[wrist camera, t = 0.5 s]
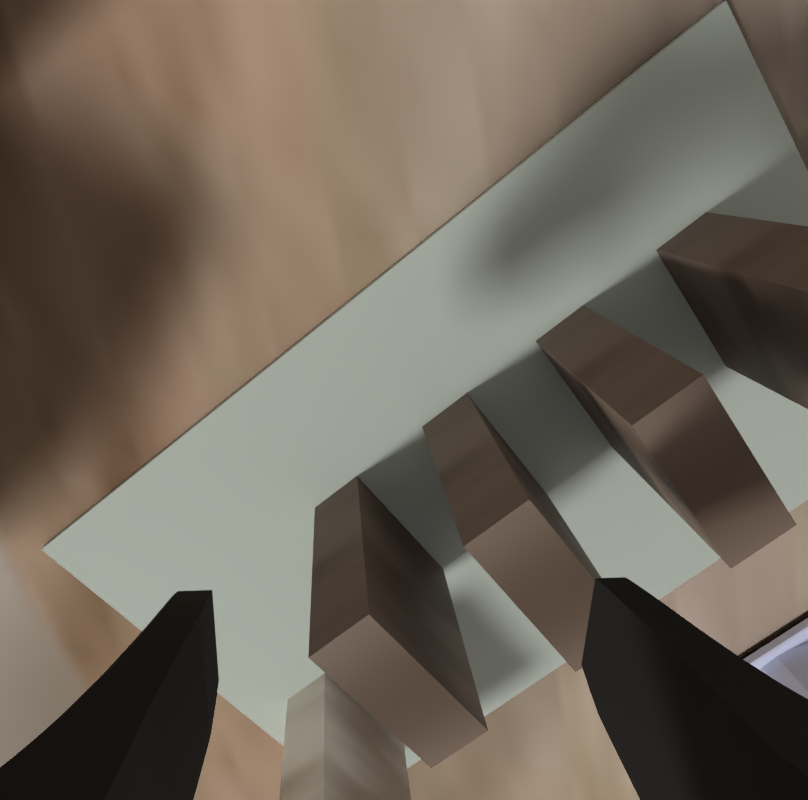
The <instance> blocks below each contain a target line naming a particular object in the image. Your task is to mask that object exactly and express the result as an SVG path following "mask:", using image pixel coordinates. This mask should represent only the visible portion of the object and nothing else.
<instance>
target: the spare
mask: <svg viewBox="0 0 808 800" xmlns="http://www.w3.org/2000/svg"><path fill="white" fill-rule="evenodd" d="M280 800H411V796H410V788H409V780H408V773H407V765H406V757H405V749H404V744H403V743H402V742H401V741H400V740H399V739H397V738H396V737H395V736H394V735H393V734H392V733H391V732H390V731H388V730H387V729H386V728H385V727H384V726H383V725H382V724H381V723H380V722H378V721H377V720H376V719H375V718H374V717H373V716H372V715H371V714H370V713H368V712H367V711H366V710H365V709H364V708H363V707H362V706H361V705H359V704H358V703H357V702H356V701H355V700H354V699H353V698H352V697H351V696H349V695H348V694H347V693H346V692H345V691H344V690H343V689H342V688H341V687H339V686H338V685H337V684H336V683H335V682H334V681H333V680H332V679H330V678H329V677H328V676H327V675H326V674H325V673H324V674H323V675H322V676H320V677H319V678H317V679H316V680H315V681H313V682H312V683H310V684H309V685H308V686H306V687H305V688H303V689H302V690H300V691H299V692H298V693H296V694H295V695H293V696H292V697H291V698H289V699H288V700H287V711H286V724H285V736H284V749H283V762H282V775H281V787H280Z"/></svg>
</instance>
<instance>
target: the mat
mask: <svg viewBox="0 0 808 800" xmlns="http://www.w3.org/2000/svg"><path fill="white" fill-rule="evenodd" d="M706 212H709V213H716V214H723V215H730V216H737V217H744V218H752V219H759V220H766V221H773V222H780V223H787V224H795V225H802V226H808V170H807V168H806V166H805V164H804V162H803V160H802V158H801V155H800V153H799V151H798V149H797V147H796V145H795V143H794V141H793V139H792V137H791V135H790V132H789V130H788V128H787V126H786V124H785V122H784V120H783V118H782V116H781V114H780V112H779V110H778V107H777V105H776V103H775V101H774V99H773V97H772V95H771V93H770V91H769V89H768V87H767V84H766V82H765V80H764V78H763V76H762V74H761V72H760V70H759V68H758V66H757V64H756V62H755V59H754V57H753V55H752V53H751V51H750V49H749V47H748V45H747V43H746V41H745V39H744V37H743V34H742V32H741V30H740V28H739V26H738V24H737V22H736V20H735V18H734V16H733V14H732V11H731V9H730V7H729V5H728V3H727V1H723V2H721V3H719V4H718V5H717V6H715V7H714V8H713V9H712V10H710V11H709V12H708V13H707V14H705V15H704V16H703V17H702V18H700V19H699V20H698V21H697V22H695V23H694V24H693V25H692V26H690V27H689V28H688V29H687V30H685V31H684V32H683V33H682V34H680V35H679V36H678V37H677V38H675V39H674V40H673V41H672V42H670V43H669V44H668V45H667V46H665V47H664V48H663V49H662V50H660V51H659V52H658V53H657V54H655V55H654V56H653V57H652V58H650V59H649V60H648V61H647V62H646V63H644V64H643V65H642V66H641V67H639V68H638V69H637V70H636V71H634V72H633V73H632V74H631V75H629V76H628V77H627V78H626V79H624V80H623V81H622V82H621V83H619V84H618V85H617V86H616V87H614V88H613V89H612V90H611V91H609V92H608V93H607V94H606V95H604V96H603V97H602V98H601V99H599V100H598V101H597V102H596V103H594V104H593V105H592V106H591V107H589V108H588V109H587V110H586V111H584V112H583V113H582V114H581V115H579V116H578V117H577V118H576V119H574V120H573V121H572V122H571V123H569V124H568V125H567V126H566V127H565V128H563V129H562V130H561V131H560V132H558V133H557V134H556V135H555V136H553V137H552V138H551V139H550V140H548V141H547V142H546V143H545V144H543V145H542V146H541V147H540V148H538V149H537V150H536V151H535V152H533V153H532V154H531V155H530V156H528V157H527V158H526V159H525V160H523V161H522V162H521V163H520V164H518V165H517V166H516V167H515V168H513V169H512V170H511V171H510V172H508V173H507V174H506V175H505V176H503V177H502V178H501V179H500V180H498V181H497V182H496V183H495V184H493V185H492V186H491V187H490V188H489V189H487V190H486V191H485V192H484V193H482V194H481V195H480V196H479V197H477V198H476V199H475V200H474V201H472V202H471V203H470V204H469V205H467V206H466V207H465V208H464V209H462V210H461V211H460V212H459V213H457V214H456V215H455V216H454V217H452V218H451V219H450V220H449V221H447V222H446V223H445V224H444V225H442V226H441V227H440V228H439V229H437V230H436V231H435V232H434V233H432V234H431V235H430V236H429V237H427V238H426V239H425V240H424V241H422V242H421V243H420V244H419V245H417V246H416V247H415V248H414V249H412V250H411V251H410V252H409V253H408V254H406V255H405V256H404V257H403V258H401V259H400V260H399V261H398V262H396V263H395V264H394V265H393V266H391V267H390V268H389V269H388V270H386V271H385V272H384V273H383V274H381V275H380V276H379V277H378V278H376V279H375V280H374V281H373V282H371V283H370V284H369V285H368V286H366V287H365V288H364V289H363V290H361V291H360V292H359V293H358V294H356V295H355V296H354V297H353V298H351V299H350V300H349V301H348V302H346V303H345V304H344V305H343V306H341V307H340V308H339V309H338V310H336V311H335V312H334V313H333V314H332V315H330V316H329V317H328V318H327V319H325V320H324V321H323V322H322V323H320V324H319V325H318V326H317V327H315V328H314V329H313V330H312V331H310V332H309V333H308V334H307V335H305V336H304V337H303V338H302V339H300V340H299V341H298V342H297V343H295V344H294V345H293V346H292V347H290V348H289V349H288V350H287V351H285V352H284V353H283V354H282V355H280V356H279V357H278V358H277V359H275V360H274V361H273V362H272V363H270V364H269V365H268V366H267V367H265V368H264V369H263V370H262V371H260V372H259V373H258V374H257V375H255V376H254V377H253V378H252V379H251V380H249V381H248V382H247V383H246V384H244V385H243V386H242V387H241V388H239V389H238V390H237V391H236V392H234V393H233V394H232V395H231V396H229V397H228V398H227V399H226V400H224V401H223V402H222V403H221V404H219V405H218V406H217V407H216V408H214V409H213V410H212V411H211V412H209V413H208V414H207V415H206V416H204V417H203V418H202V419H201V420H199V421H198V422H197V423H196V424H194V425H193V426H192V427H191V428H189V429H188V430H187V431H186V432H184V433H183V434H182V435H181V436H179V437H178V438H177V439H176V440H175V441H173V442H172V443H171V444H170V445H168V446H167V447H166V448H165V449H163V450H162V451H161V452H160V453H158V454H157V455H156V456H155V457H153V458H152V459H151V460H150V461H148V462H147V463H146V464H145V465H143V466H142V467H141V468H140V469H138V470H137V471H136V472H135V473H133V474H132V475H131V476H130V477H128V478H127V479H126V480H125V481H123V482H122V483H121V484H120V485H118V486H117V487H116V488H115V489H113V490H112V491H111V492H110V493H108V494H107V495H106V496H105V497H103V498H102V499H101V500H100V501H98V502H97V503H96V504H95V505H94V506H92V507H91V508H90V509H89V510H87V511H86V512H85V513H84V514H82V515H81V516H80V517H79V518H77V519H76V520H75V521H74V522H72V523H71V524H70V525H69V526H67V527H66V528H65V529H64V530H62V531H61V532H60V533H59V534H57V535H56V536H55V537H54V538H52V539H51V540H50V541H49V542H47V543H46V544H45V545H44V546H43V548H42V549H41V550H43V551H44V552H45V553H46V554H47V555H49V556H50V557H51V558H52V559H54V560H55V561H56V562H57V563H59V564H60V565H61V566H62V567H63V568H65V569H66V570H67V571H68V572H70V573H71V574H72V575H73V576H75V577H76V578H77V579H78V580H79V581H81V582H82V583H83V584H84V585H86V586H87V587H88V588H89V589H91V590H92V591H93V592H94V593H95V594H97V595H98V596H99V597H100V598H102V599H103V600H104V601H105V602H107V603H108V604H109V605H110V606H111V607H113V608H114V609H115V610H116V611H118V612H119V613H120V614H121V615H123V616H124V617H125V618H126V619H127V620H129V621H130V622H131V623H132V624H134V625H135V626H136V627H137V628H139V629H140V630H141V631H143V630H144V629H145V628H146V626H147V625H148V624H149V623H150V622H151V621H152V619H153V618H154V617H155V616H156V615H157V613H158V612H159V611H160V610H161V609H162V608H163V606H164V605H165V604H166V603H167V602H168V600H169V599H170V598H171V597H172V596H173V595H174V594H175V593H176V592H177V591H196V590H212V594H213V608H214V621H215V634H216V648H217V661H218V675H219V683H218V690H217V693H219V694H220V695H221V696H222V697H223V698H225V699H226V700H227V701H228V702H230V703H231V704H232V705H233V706H235V707H236V708H237V709H238V710H239V711H241V712H242V713H243V714H244V715H246V716H247V717H248V718H249V719H251V720H252V721H253V722H254V723H256V724H257V725H258V726H259V727H260V728H262V729H263V730H264V731H265V732H267V733H268V734H269V735H270V736H272V737H273V738H274V739H275V740H276V741H278V742H279V743H280V744H281V745H283V746H284V736H285V724H286V711H287V700H288V699H289V698H291V697H292V696H293V695H295V694H296V693H298V692H299V691H300V690H302V689H303V688H305V687H306V686H308V685H309V684H310V683H312V682H313V681H315V680H316V679H317V678H319V677H320V676H322V675H323V674H324V673H325V672H324V671H323V670H321V669H320V668H319V667H318V666H317V665H316V664H315V663H314V662H313V661H311V660H310V659H309V658H308V655H309V632H310V608H311V585H312V562H313V538H314V515H315V507H316V506H318V505H319V504H320V503H322V502H323V501H324V500H326V499H327V498H328V497H330V496H331V495H332V494H334V493H335V492H336V491H338V490H339V489H340V488H342V487H343V486H344V485H346V484H347V483H348V482H349V481H351V480H352V479H353V478H355V477H356V476H358V477H359V478H360V480H361V481H362V482H363V483H364V484H365V485H366V486H367V487H368V488H369V489H370V490H371V491H372V493H373V494H374V495H375V496H376V497H377V498H378V499H379V500H380V501H381V502H382V503H383V504H384V505H385V507H386V508H387V509H388V510H389V511H390V512H391V513H392V514H393V515H394V516H395V517H396V518H397V519H398V521H399V522H400V523H401V524H402V525H403V526H404V527H405V528H406V529H407V530H408V531H409V532H410V534H411V535H412V536H413V537H414V538H415V539H416V540H417V541H418V542H419V543H420V544H421V545H422V546H423V548H424V549H425V550H426V551H427V552H428V553H429V554H430V555H431V556H432V557H433V558H434V559H435V560H436V562H437V563H438V564H439V565H440V566H441V567H442V568H443V570H444V574H445V578H446V581H447V585H448V588H449V592H450V596H451V599H452V603H453V606H454V610H455V614H456V617H457V621H458V624H459V628H460V632H461V635H462V639H463V643H464V646H465V650H466V653H467V657H468V661H469V664H470V668H471V671H472V675H473V679H474V682H475V686H476V689H477V693H478V697H479V700H480V704H481V708H482V711H483V715H484V717H485V716H486V715H488V714H489V713H491V712H492V711H494V710H495V709H497V708H498V707H500V706H501V705H503V704H504V703H506V702H507V701H508V700H510V699H511V698H513V697H514V696H516V695H517V694H519V693H520V692H522V691H523V690H525V689H526V688H528V687H529V686H531V685H532V684H534V683H535V682H537V681H538V680H540V679H541V678H543V677H544V676H546V675H547V674H549V673H550V672H552V671H553V670H555V669H556V668H558V667H559V666H561V665H562V664H564V663H565V662H566V661H565V659H564V658H563V657H562V656H561V655H560V654H559V653H558V652H557V650H556V649H555V648H554V647H553V646H552V645H551V644H550V643H549V641H548V640H547V639H546V638H545V637H544V636H543V635H542V634H541V633H540V631H539V630H538V629H537V628H536V627H535V626H534V625H533V624H532V622H531V621H530V620H529V619H528V618H527V617H526V616H525V615H524V614H523V612H522V611H521V610H520V609H519V608H518V607H517V606H516V605H515V603H514V602H513V601H512V600H511V599H510V598H509V597H508V596H507V595H506V593H505V592H504V591H503V590H502V589H501V588H500V587H499V586H498V584H497V583H496V582H495V581H494V580H493V579H492V578H491V577H490V575H489V574H488V573H487V572H486V571H485V570H484V569H483V568H482V567H481V565H480V564H479V563H478V562H477V561H476V560H475V559H474V558H473V556H472V555H471V554H470V553H469V552H468V551H467V550H466V549H465V548H464V546H463V543H462V541H461V538H460V535H459V532H458V529H457V526H456V523H455V520H454V517H453V515H452V512H451V509H450V506H449V503H448V500H447V497H446V494H445V491H444V488H443V486H442V483H441V480H440V477H439V474H438V471H437V468H436V465H435V462H434V460H433V457H432V454H431V451H430V448H429V445H428V442H427V439H426V436H425V434H424V431H423V428H422V426H424V425H425V424H426V423H428V422H429V421H430V420H432V419H433V418H434V417H436V416H437V415H438V414H440V413H441V412H442V411H443V410H445V409H446V408H447V407H449V406H450V405H451V404H453V403H454V402H455V401H457V400H458V399H459V398H461V397H462V396H463V395H465V394H466V393H467V394H468V395H469V396H470V398H471V399H472V400H473V401H474V403H475V404H476V405H477V406H478V408H479V409H480V410H481V412H482V413H483V414H484V415H485V417H486V418H487V419H488V420H489V422H490V423H491V424H492V425H493V427H494V428H495V429H496V430H497V432H498V433H499V434H500V435H501V437H502V438H503V439H504V440H505V442H506V443H507V444H508V445H509V447H510V448H511V449H512V450H513V452H514V453H515V454H516V456H517V457H518V458H519V459H520V461H521V462H522V463H523V464H524V466H525V467H526V468H527V469H528V471H529V472H530V473H531V474H532V476H533V477H534V478H535V479H536V481H537V482H538V483H539V484H540V486H541V487H542V488H543V489H544V491H545V492H546V493H547V495H548V496H549V498H550V499H551V501H552V502H553V504H554V505H555V507H556V508H557V510H558V512H559V513H560V515H561V516H562V518H563V519H564V521H565V522H566V524H567V525H568V527H569V528H570V530H571V532H572V533H573V535H574V536H575V538H576V539H577V541H578V542H579V544H580V545H581V547H582V548H583V550H584V552H585V553H586V555H587V556H588V558H589V559H590V561H591V562H592V564H593V565H594V567H595V568H596V570H597V572H598V573H599V575H600V576H601V578H620V577H626V578H627V579H629V580H631V581H632V582H634V583H635V584H637V585H638V586H640V587H641V588H642V589H644V590H645V591H647V592H648V593H650V594H651V595H652V596H654V597H655V598H657V599H658V600H659V599H661V598H662V597H664V596H665V595H667V594H668V593H670V592H671V591H673V590H674V589H676V588H677V587H679V586H680V585H682V584H683V583H684V582H686V581H687V580H689V579H690V578H692V577H693V576H695V575H696V574H698V573H699V572H701V571H702V570H704V569H705V568H707V567H708V566H710V565H711V564H713V563H714V562H716V561H717V560H719V559H720V557H719V556H718V555H717V554H716V553H715V552H714V551H713V549H712V548H711V547H710V546H709V545H708V544H707V543H706V542H705V541H704V540H703V539H702V538H701V537H700V536H699V535H698V534H697V533H696V532H695V531H694V530H693V529H692V528H691V527H690V526H689V525H688V524H687V523H686V522H685V521H684V520H683V519H682V518H681V517H680V516H679V515H678V514H677V513H676V512H675V511H674V510H673V509H672V508H671V507H670V506H669V505H668V504H667V503H666V502H665V501H664V500H663V499H662V498H661V497H660V496H659V494H658V493H657V492H656V491H655V490H654V489H653V488H652V487H651V486H650V485H649V484H648V483H647V482H646V481H645V480H644V479H643V478H642V477H641V476H640V475H639V474H638V473H637V472H636V471H635V470H634V469H633V468H632V467H631V466H630V465H629V464H628V463H627V462H626V461H625V460H624V459H623V458H622V457H621V456H620V455H619V454H618V453H617V452H616V451H615V450H614V449H613V448H612V446H611V445H610V444H609V442H608V441H607V439H606V438H605V437H604V435H603V434H602V432H601V431H600V430H599V428H598V427H597V425H596V424H595V423H594V421H593V420H592V419H591V417H590V416H589V414H588V413H587V412H586V410H585V409H584V407H583V406H582V405H581V403H580V402H579V400H578V399H577V398H576V396H575V395H574V394H573V392H572V391H571V389H570V388H569V387H568V385H567V384H566V382H565V381H564V380H563V378H562V377H561V375H560V374H559V373H558V371H557V370H556V369H555V367H554V366H553V364H552V363H551V362H550V360H549V359H548V357H547V356H546V355H545V353H544V352H543V350H542V349H541V348H540V346H539V345H538V344H537V342H536V340H537V339H539V338H540V337H541V336H543V335H544V334H545V333H547V332H548V331H549V330H551V329H552V328H553V327H555V326H556V325H557V324H559V323H560V322H561V321H563V320H564V319H565V318H567V317H568V316H569V315H571V314H572V313H573V312H575V311H576V310H577V309H579V308H580V307H581V306H582V305H583V306H585V307H587V308H589V309H590V310H592V311H594V312H596V313H597V314H599V315H601V316H603V317H604V318H606V319H608V320H609V321H611V322H613V323H615V324H616V325H618V326H620V327H622V328H623V329H625V330H627V331H629V332H630V333H632V334H634V335H636V336H637V337H639V338H641V339H643V340H644V341H646V342H648V343H650V344H651V345H653V346H655V347H656V348H658V349H660V350H662V351H663V352H665V353H667V354H669V355H670V356H672V357H674V358H676V359H677V360H679V361H681V362H683V363H684V364H686V365H688V366H689V367H691V368H693V369H695V370H696V371H698V372H700V373H702V374H703V375H704V376H705V378H706V379H707V381H708V383H709V384H710V386H711V388H712V389H713V391H714V392H715V394H716V396H717V397H718V399H719V400H720V402H721V404H722V405H723V407H724V409H725V410H726V412H727V413H728V415H729V417H730V418H731V420H732V421H733V423H734V425H735V426H736V428H737V429H738V431H739V433H740V434H741V436H742V438H743V439H744V441H745V442H746V444H747V446H748V447H749V449H750V450H751V452H752V454H753V455H754V457H755V459H756V460H757V462H758V463H759V465H760V467H761V468H762V470H763V471H764V473H765V475H766V476H767V478H768V479H769V481H770V483H771V484H772V486H773V488H774V489H775V491H776V492H777V494H778V496H779V497H780V499H781V500H782V502H783V504H784V505H785V507H786V509H787V510H788V512H790V511H792V510H793V509H795V508H796V507H798V506H799V505H801V504H802V503H804V502H805V501H807V500H808V409H807V408H805V407H803V406H801V405H799V404H797V403H795V402H793V401H791V400H789V399H787V398H785V397H784V396H782V395H780V394H778V393H776V392H774V391H772V390H770V389H768V388H766V387H764V386H762V385H761V384H759V383H757V382H755V381H753V380H751V379H749V378H747V377H745V376H743V375H741V374H739V373H738V372H736V371H734V370H732V369H730V368H728V367H726V366H725V364H724V362H723V361H722V359H721V357H720V356H719V354H718V353H717V351H716V349H715V348H714V346H713V344H712V343H711V341H710V339H709V338H708V336H707V334H706V333H705V331H704V329H703V328H702V326H701V324H700V323H699V321H698V319H697V318H696V316H695V314H694V313H693V311H692V309H691V308H690V306H689V304H688V303H687V301H686V299H685V298H684V296H683V294H682V293H681V291H680V289H679V288H678V286H677V284H676V283H675V281H674V279H673V278H672V276H671V274H670V273H669V271H668V269H667V268H666V266H665V264H664V263H663V261H662V259H661V258H660V256H659V254H658V253H657V251H656V250H657V249H658V248H659V247H661V246H662V245H663V244H665V243H666V242H667V241H669V240H670V239H671V238H673V237H674V236H675V235H677V234H678V233H679V232H680V231H682V230H683V229H684V228H686V227H687V226H688V225H690V224H691V223H692V222H694V221H695V220H696V219H698V218H699V217H700V216H702V215H703V214H704V213H706ZM325 674H326V673H325ZM326 675H327V674H326ZM327 676H328V675H327ZM328 677H329V676H328ZM329 678H330V677H329ZM330 679H332V678H330ZM332 680H333V679H332ZM333 681H334V680H333ZM334 682H335V681H334ZM335 683H336V682H335ZM336 684H337V683H336ZM337 685H338V684H337ZM338 686H339V685H338ZM339 687H340V686H339ZM341 688H342V687H341ZM342 689H343V688H342ZM343 690H344V689H343ZM344 691H345V690H344ZM345 692H346V691H345ZM346 693H347V692H346ZM347 694H348V693H347ZM348 695H349V694H348ZM349 696H350V695H349ZM351 697H352V696H351ZM352 698H353V697H352ZM353 699H354V698H353ZM354 700H355V699H354ZM355 701H356V700H355ZM356 702H357V701H356ZM357 703H358V702H357ZM358 704H359V703H358ZM359 705H360V704H359ZM361 706H362V705H361ZM362 707H363V706H362ZM363 708H364V707H363ZM364 709H365V708H364ZM365 710H366V709H365ZM366 711H367V710H366ZM367 712H368V711H367ZM368 713H369V712H368ZM370 714H371V713H370ZM371 715H372V714H371ZM372 716H373V715H372ZM373 717H374V716H373ZM374 718H375V717H374ZM375 719H376V718H375ZM376 720H377V719H376ZM377 721H378V720H377ZM378 722H379V721H378ZM380 723H381V722H380ZM381 724H382V723H381ZM382 725H383V724H382ZM383 726H384V725H383ZM384 727H385V726H384ZM385 728H386V727H385ZM386 729H387V728H386ZM387 730H388V729H387ZM388 731H389V730H388ZM390 732H391V731H390ZM391 733H392V732H391ZM392 734H393V733H392ZM393 735H394V734H393ZM394 736H395V735H394ZM395 737H396V736H395ZM396 738H397V737H396ZM397 739H398V738H397ZM399 740H400V739H399ZM400 741H401V740H400ZM401 742H402V741H401ZM402 743H403V742H402ZM403 744H404V743H403ZM404 749H405V757H406V765H407V768H409V767H410V766H412V765H413V764H415V763H416V762H418V761H419V760H420V759H421V758H420V757H418V756H417V755H416V754H415V753H414V752H413V751H412V750H411V749H410V748H408V747H407V746H406V745H405V744H404Z"/></svg>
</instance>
